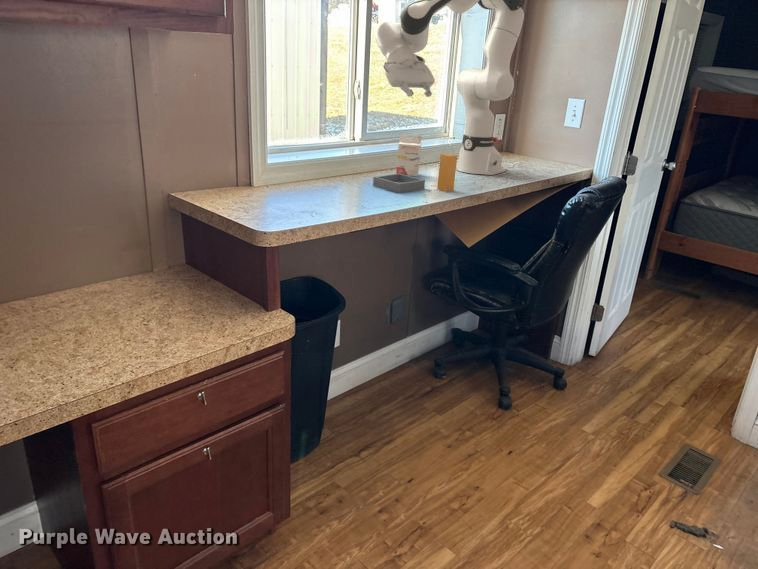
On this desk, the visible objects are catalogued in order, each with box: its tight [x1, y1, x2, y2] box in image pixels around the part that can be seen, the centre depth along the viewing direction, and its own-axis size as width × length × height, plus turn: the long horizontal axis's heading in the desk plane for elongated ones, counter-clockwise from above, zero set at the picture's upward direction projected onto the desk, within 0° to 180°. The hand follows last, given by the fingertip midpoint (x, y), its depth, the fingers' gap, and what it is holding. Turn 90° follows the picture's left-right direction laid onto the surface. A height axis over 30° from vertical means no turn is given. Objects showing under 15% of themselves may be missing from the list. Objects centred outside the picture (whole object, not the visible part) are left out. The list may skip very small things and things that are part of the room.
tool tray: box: [372, 173, 426, 194], centre depth 193 cm, size 13×13×3 cm
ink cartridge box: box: [395, 133, 422, 177], centre depth 212 cm, size 9×5×15 cm, turn 84°
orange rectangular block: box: [437, 153, 458, 192], centre depth 192 cm, size 4×4×12 cm
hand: (420, 95), depth 193 cm, fingers open, 8 cm apart
